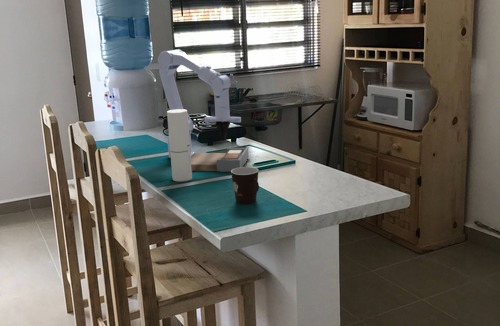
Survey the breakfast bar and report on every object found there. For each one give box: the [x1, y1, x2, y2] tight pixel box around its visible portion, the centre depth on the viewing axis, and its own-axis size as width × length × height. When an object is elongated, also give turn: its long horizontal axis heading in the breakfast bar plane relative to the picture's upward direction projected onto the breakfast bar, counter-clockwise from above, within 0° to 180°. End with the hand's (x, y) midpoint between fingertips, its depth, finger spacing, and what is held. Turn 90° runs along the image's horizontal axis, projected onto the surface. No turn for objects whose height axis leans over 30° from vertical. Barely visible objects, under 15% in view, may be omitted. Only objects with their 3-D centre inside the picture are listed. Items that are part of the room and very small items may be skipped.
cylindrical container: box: [166, 108, 193, 182], centre depth 193 cm, size 7×7×25 cm
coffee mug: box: [230, 166, 260, 205], centre depth 167 cm, size 12×9×10 cm
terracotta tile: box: [224, 155, 239, 160], centre depth 206 cm, size 5×5×2 cm
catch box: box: [216, 147, 249, 173], centre depth 210 cm, size 9×19×4 cm, turn 170°
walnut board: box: [191, 152, 227, 172], centre depth 212 cm, size 13×17×2 cm
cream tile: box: [226, 150, 242, 157], centre depth 213 cm, size 5×5×2 cm
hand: (223, 140), depth 215 cm, fingers closed
